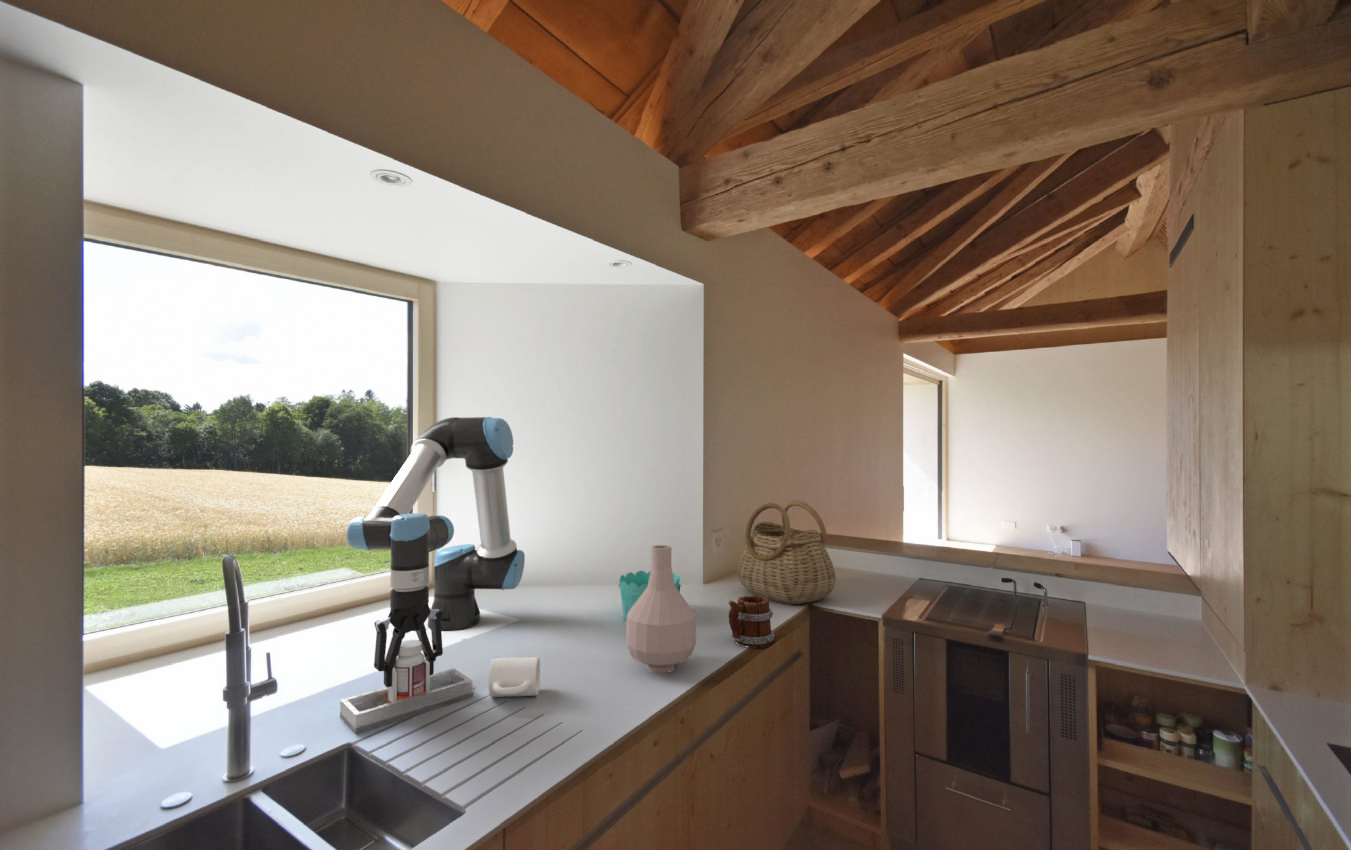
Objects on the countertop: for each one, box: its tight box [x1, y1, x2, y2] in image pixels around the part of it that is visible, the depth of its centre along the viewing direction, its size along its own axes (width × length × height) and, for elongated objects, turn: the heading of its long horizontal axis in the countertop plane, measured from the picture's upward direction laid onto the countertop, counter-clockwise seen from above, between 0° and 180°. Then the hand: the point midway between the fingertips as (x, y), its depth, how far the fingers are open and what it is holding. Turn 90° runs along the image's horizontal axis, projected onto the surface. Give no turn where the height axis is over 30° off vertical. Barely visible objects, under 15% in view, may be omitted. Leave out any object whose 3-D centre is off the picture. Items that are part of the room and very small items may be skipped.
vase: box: [625, 544, 697, 674], centre depth 152 cm, size 18×18×30 cm
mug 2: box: [728, 595, 776, 649], centre depth 170 cm, size 12×14×15 cm
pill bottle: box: [394, 639, 426, 701], centre depth 130 cm, size 6×6×11 cm
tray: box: [339, 667, 474, 735], centre depth 130 cm, size 24×10×4 cm, turn 134°
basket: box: [737, 500, 837, 605], centre depth 219 cm, size 35×28×34 cm
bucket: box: [618, 570, 682, 622], centre depth 193 cm, size 19×18×13 cm
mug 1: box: [488, 656, 541, 698], centre depth 134 cm, size 12×10×8 cm
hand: (409, 695), depth 130 cm, fingers closed on pill bottle, 6 cm apart
